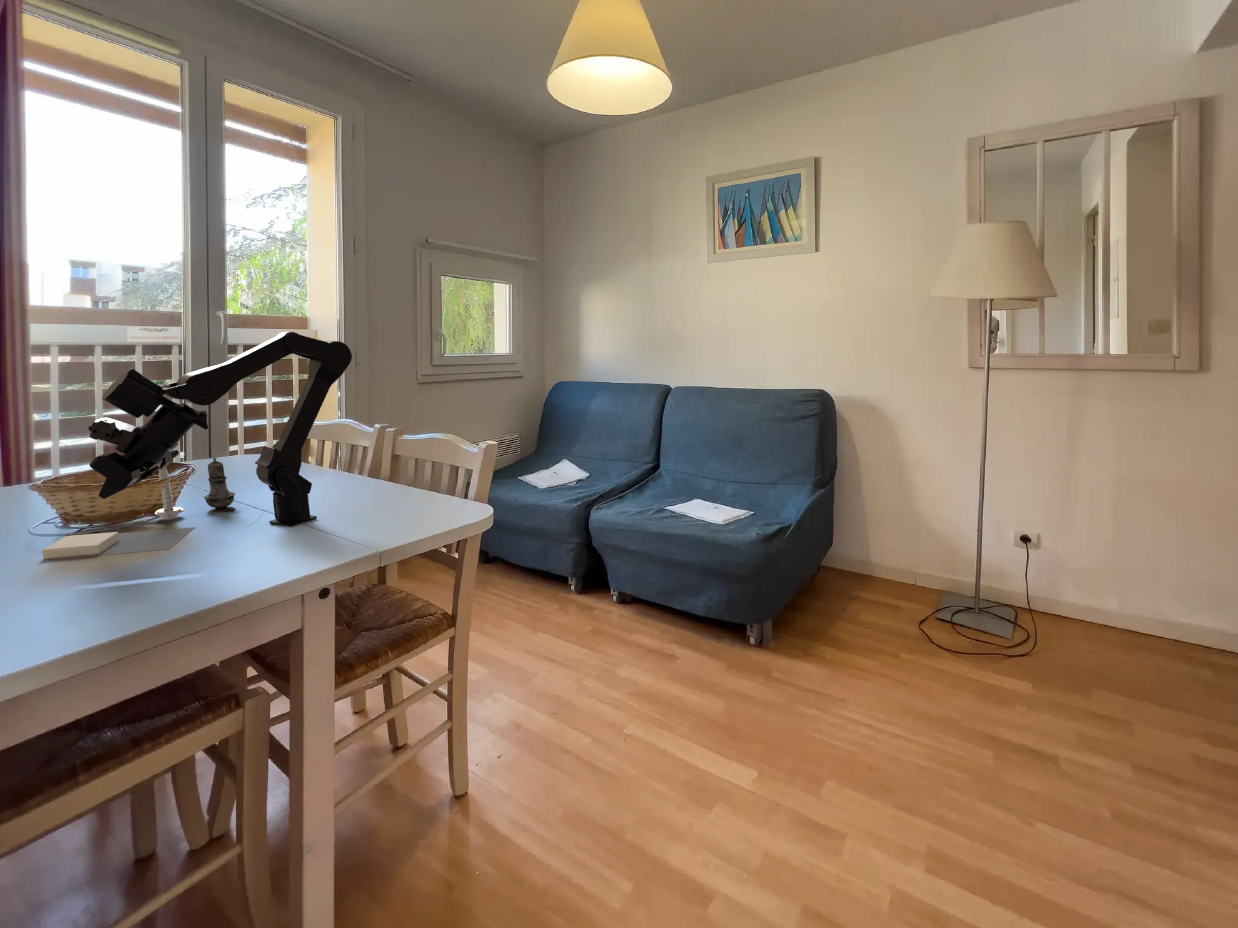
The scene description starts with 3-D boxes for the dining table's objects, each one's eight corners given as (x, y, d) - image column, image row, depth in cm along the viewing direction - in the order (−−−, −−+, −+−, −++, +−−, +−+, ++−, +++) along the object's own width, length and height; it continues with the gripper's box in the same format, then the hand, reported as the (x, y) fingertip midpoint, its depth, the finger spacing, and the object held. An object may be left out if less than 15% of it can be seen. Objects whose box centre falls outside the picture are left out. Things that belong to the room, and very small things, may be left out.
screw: (153, 525, 130) (159, 519, 135) (181, 522, 132) (186, 516, 137) (143, 462, 128) (150, 458, 132) (172, 460, 130) (177, 456, 134)
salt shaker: (226, 514, 137) (219, 460, 135) (199, 515, 138) (191, 460, 135) (242, 507, 143) (236, 454, 141) (217, 507, 143) (209, 455, 141)
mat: (196, 529, 127) (195, 527, 127) (169, 551, 114) (169, 549, 114) (88, 538, 122) (87, 535, 122) (47, 562, 109) (46, 560, 109)
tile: (118, 531, 119) (66, 536, 117) (97, 544, 111) (41, 549, 109) (119, 540, 119) (68, 544, 117) (99, 553, 112) (43, 558, 109)
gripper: (142, 396, 120) (84, 458, 120) (93, 407, 103) (24, 479, 102) (196, 435, 124) (140, 495, 124) (157, 451, 107) (92, 522, 106)
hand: (101, 496), depth 114 cm, fingers closed
